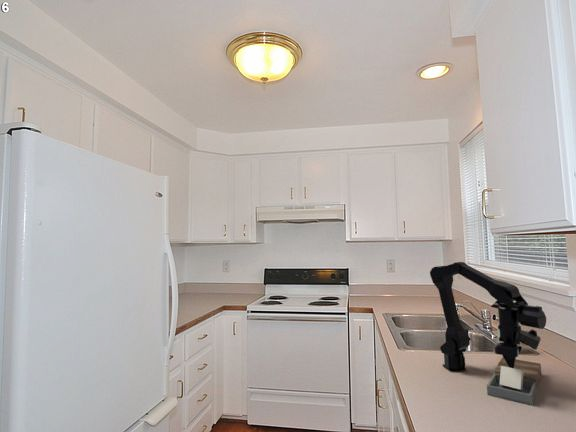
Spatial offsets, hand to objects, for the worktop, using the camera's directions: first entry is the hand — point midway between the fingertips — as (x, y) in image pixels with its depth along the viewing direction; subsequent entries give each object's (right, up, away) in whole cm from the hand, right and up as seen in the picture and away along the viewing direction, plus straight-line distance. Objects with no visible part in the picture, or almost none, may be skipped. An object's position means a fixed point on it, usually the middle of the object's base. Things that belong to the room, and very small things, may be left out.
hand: (511, 369), depth 119 cm
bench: (+7, -6, +7) cm, 12 cm away
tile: (0, -3, -1) cm, 3 cm away
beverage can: (+20, -7, +34) cm, 40 cm away
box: (-2, -6, -4) cm, 8 cm away
